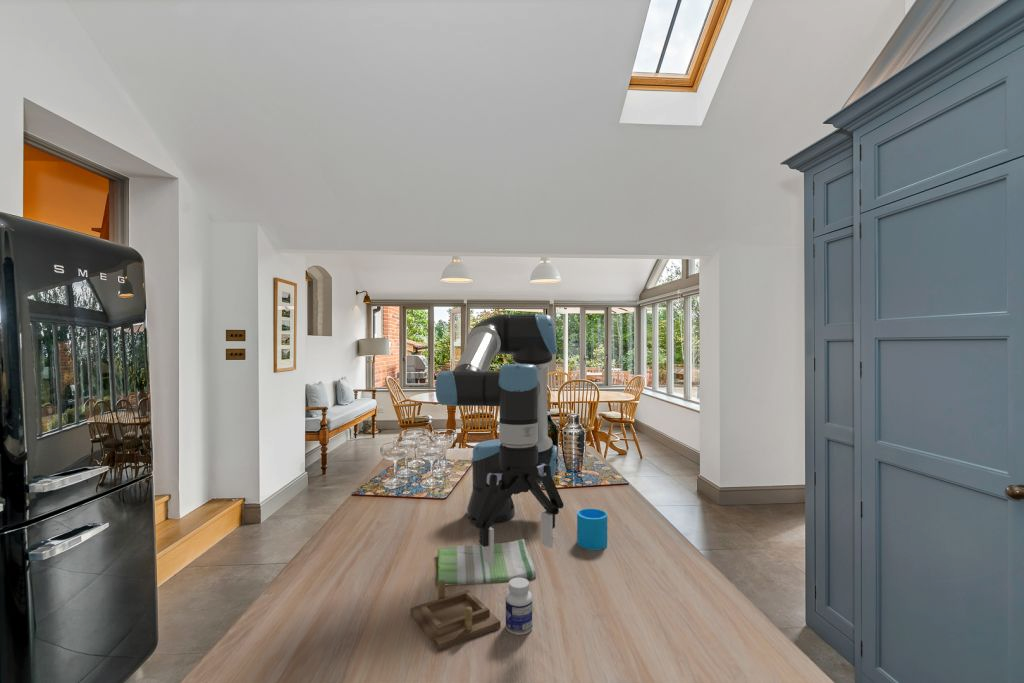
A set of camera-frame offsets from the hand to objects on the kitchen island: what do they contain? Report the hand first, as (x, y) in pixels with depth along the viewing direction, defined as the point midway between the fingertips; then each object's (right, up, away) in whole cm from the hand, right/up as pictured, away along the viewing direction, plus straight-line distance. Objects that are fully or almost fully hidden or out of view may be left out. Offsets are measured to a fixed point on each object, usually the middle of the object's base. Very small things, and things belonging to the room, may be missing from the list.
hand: (518, 553), depth 94 cm
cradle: (-13, -14, +3) cm, 20 cm away
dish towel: (-8, -15, +26) cm, 31 cm away
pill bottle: (0, -15, 0) cm, 15 cm away
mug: (+20, -14, +41) cm, 48 cm away
